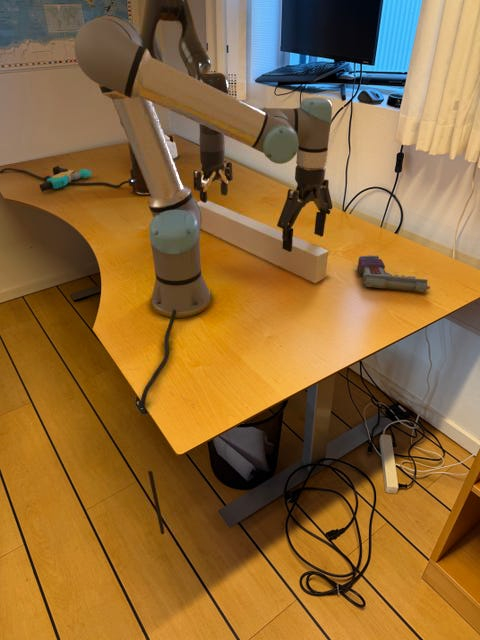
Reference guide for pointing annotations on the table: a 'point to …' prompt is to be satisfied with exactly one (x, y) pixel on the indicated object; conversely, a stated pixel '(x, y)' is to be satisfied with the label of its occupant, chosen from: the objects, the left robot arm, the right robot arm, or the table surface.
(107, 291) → the table surface
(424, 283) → the toy gun
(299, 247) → the bar
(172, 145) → the sneaker
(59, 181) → the toy gun
